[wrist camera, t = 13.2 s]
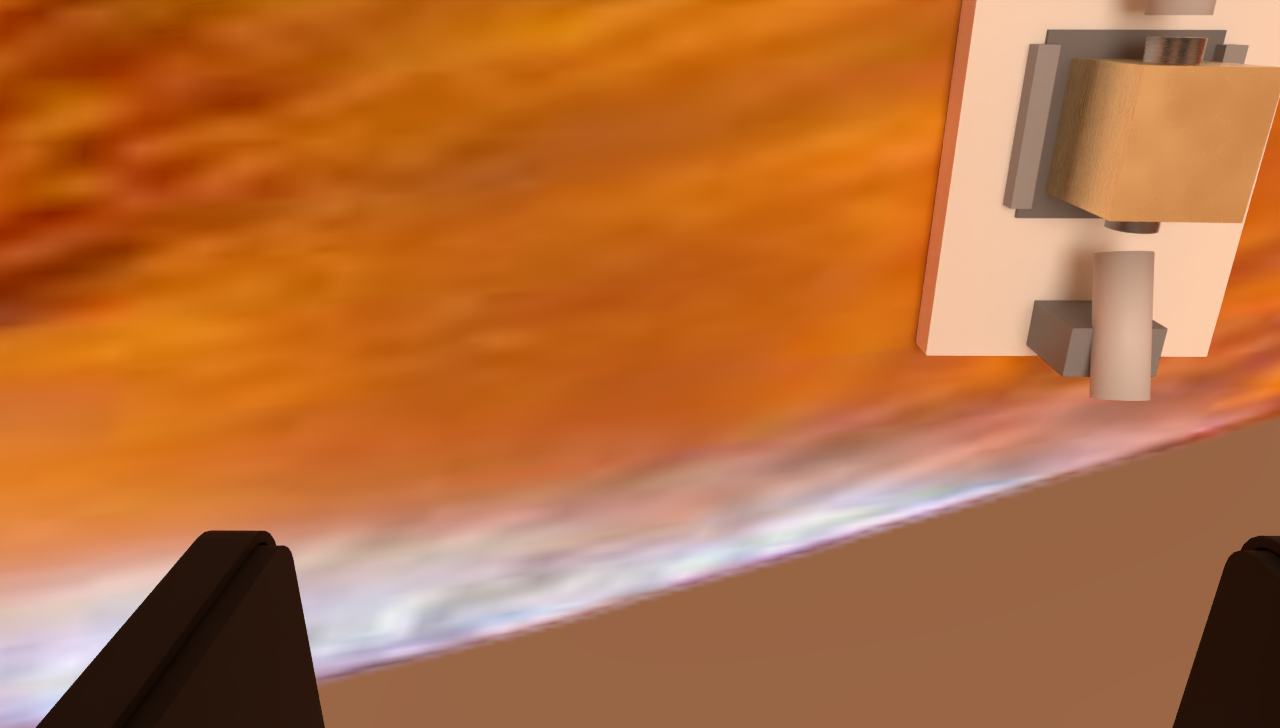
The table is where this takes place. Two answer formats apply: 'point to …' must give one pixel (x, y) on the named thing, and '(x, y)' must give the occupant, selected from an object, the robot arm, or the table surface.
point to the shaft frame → (1054, 229)
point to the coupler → (1162, 136)
